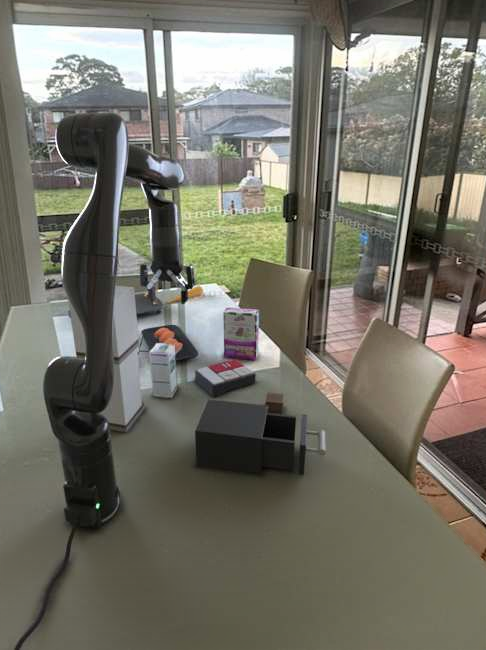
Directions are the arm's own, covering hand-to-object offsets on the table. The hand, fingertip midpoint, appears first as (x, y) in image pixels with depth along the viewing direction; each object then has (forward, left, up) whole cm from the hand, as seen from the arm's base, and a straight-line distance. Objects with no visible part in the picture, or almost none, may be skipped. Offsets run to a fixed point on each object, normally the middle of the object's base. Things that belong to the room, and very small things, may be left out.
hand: (168, 302), depth 118 cm
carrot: (+79, +19, -28) cm, 86 cm away
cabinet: (-22, -22, -28) cm, 42 cm away
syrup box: (0, +2, -28) cm, 28 cm away
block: (-4, -30, -28) cm, 41 cm away
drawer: (-22, -33, -27) cm, 49 cm away
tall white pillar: (-14, +11, -28) cm, 34 cm away
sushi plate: (+25, +17, -28) cm, 41 cm away
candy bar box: (+27, -16, -28) cm, 42 cm away
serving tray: (+56, +42, -28) cm, 75 cm away
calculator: (+9, -14, -28) cm, 32 cm away
